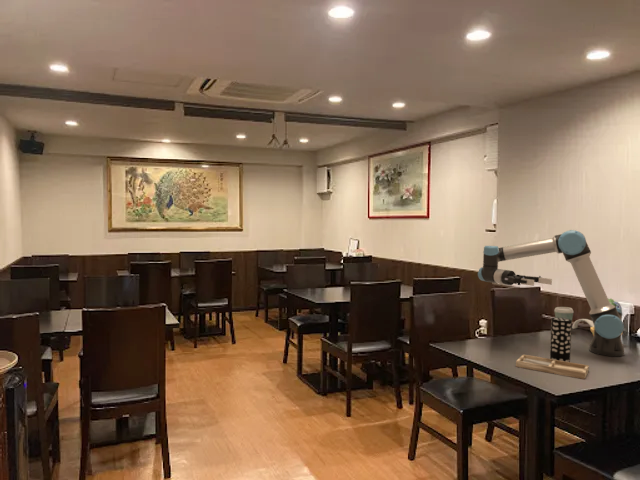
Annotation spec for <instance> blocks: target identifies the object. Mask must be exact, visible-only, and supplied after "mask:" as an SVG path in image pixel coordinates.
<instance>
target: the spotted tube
mask: <svg viewBox="0 0 640 480" xmlns="http://www.w3.org/2000/svg"><path fill="white" fill-rule="evenodd" d="M572 321H573V319H572V320H570V319H566V318H555V317H551V323H550V346H549V347H550V348H549V349H550V350H549V359H554V360H559V361H565V362H571V347H572V346H571V345H572V325H573V323H572Z"/></svg>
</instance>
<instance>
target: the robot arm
mask: <svg viewBox="0 0 640 480" xmlns="http://www.w3.org/2000/svg"><path fill="white" fill-rule="evenodd" d="M482 253H483V257H482V258H483V261H482V262H483V263H482V267H480V268H479V269H478V272H477V277H478V279H479V280H480V281H482V282H487V283H493V284H499V286H501V285H506V286H512V285H517V286H521V285H525V286H535V283H538V284H544V285H552V281H553V279H552V278H547V277H541V275H538V276H533V275H532V276H531V275H522V274H516V272H515V271H514V270H508V269H502V268H501V269H500V268H498V267H499V262H505V261H509V260H510V261H511V260H515V259H522V258H529V257H535V256H539V255H546V254H552V253H553V254H554V253H557V254H563V256H564V258H565V261H566V262H568V263H569V264H571V266H572V270H573V271H574V273H575V277H576V279H577V280H578V283H579V285H580V287H581V289H582V292H583V295H584V296H585V298H586V300H587V303H588V306H589V308H590V310H589V312H588V314H589V316H590V320H591V321H593V323H594V336H593V338H592V339H591V342H590V344H589V349H588V350H589V352H591V353H594V354H596V355H601V356H608V357H624V356H625V348H624V345H623V342H622V335H621V333H622V332H624V329H625V325H624V322H623V320H622V319H623V317H622V316H623V309H622V310H621V309H619V308H616V307H615V306H614V305H612V304H610V302H609V300H608V299H609V297H608V296H607V294H606V291H605V288H604V287H603V285H602V282H601V280H600V277H599V275H598V273H597V271H596V269H595V265H594V264H593V262H592V260H591V258H590V256H591V254H592V251H591V250H590V247H589V245H588V242H587V239H586V237H585V235H584V234H583V233H582V232H580V231H578V230H577V229H576V230H575V229H569V230H566V231H564V232H562V233H561V234H556V235H553V237H550V238H546V239H539V240H533V241H530V242H529V241H528V242H523V243H518V244H513V245H508V246H502V247H499V246H497V245H484V247H483V252H482ZM622 334H623V333H622Z"/></svg>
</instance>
